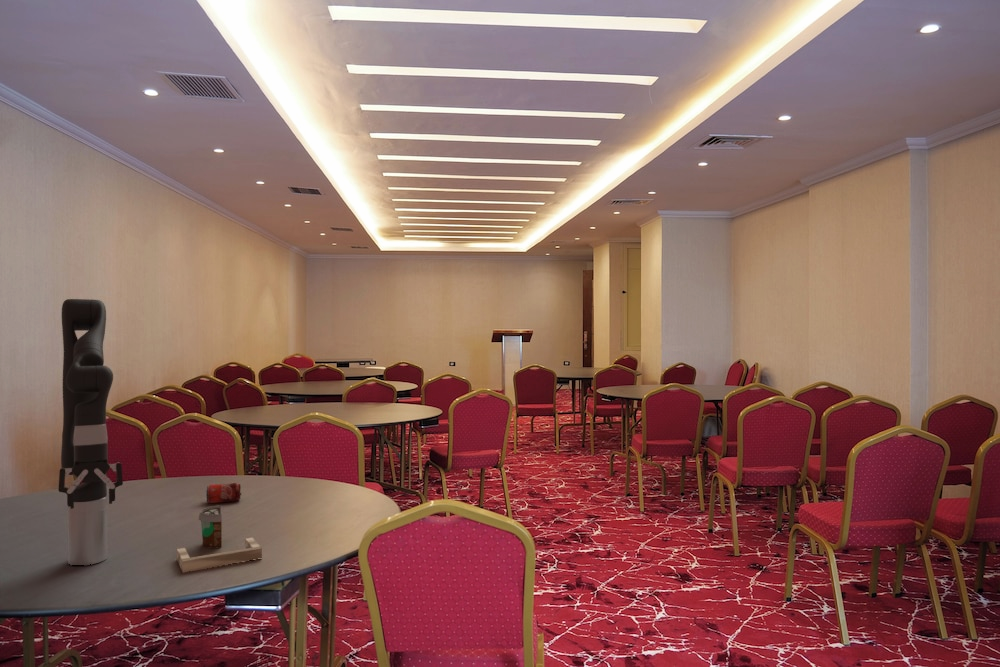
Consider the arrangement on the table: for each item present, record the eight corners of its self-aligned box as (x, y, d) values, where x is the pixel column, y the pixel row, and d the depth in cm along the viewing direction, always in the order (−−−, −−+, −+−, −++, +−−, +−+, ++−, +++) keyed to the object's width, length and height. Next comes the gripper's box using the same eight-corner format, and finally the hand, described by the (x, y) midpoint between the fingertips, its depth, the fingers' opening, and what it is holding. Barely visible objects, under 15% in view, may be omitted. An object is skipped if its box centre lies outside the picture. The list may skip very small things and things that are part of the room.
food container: (198, 539, 208) (198, 506, 208) (220, 537, 211) (220, 504, 211) (198, 551, 197) (198, 516, 197) (221, 549, 199) (221, 514, 199)
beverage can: (241, 502, 254) (241, 484, 253) (206, 505, 249) (205, 487, 249) (241, 498, 260) (241, 480, 260) (207, 501, 256) (207, 483, 256)
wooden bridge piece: (177, 559, 190) (176, 548, 190) (252, 547, 201) (252, 537, 201) (182, 572, 180) (182, 561, 180) (261, 559, 190) (261, 548, 190)
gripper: (121, 439, 186) (122, 500, 185) (58, 444, 178) (59, 507, 177) (122, 440, 179) (123, 503, 178) (57, 445, 172) (58, 511, 171)
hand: (91, 505), depth 178 cm, fingers open, 8 cm apart
